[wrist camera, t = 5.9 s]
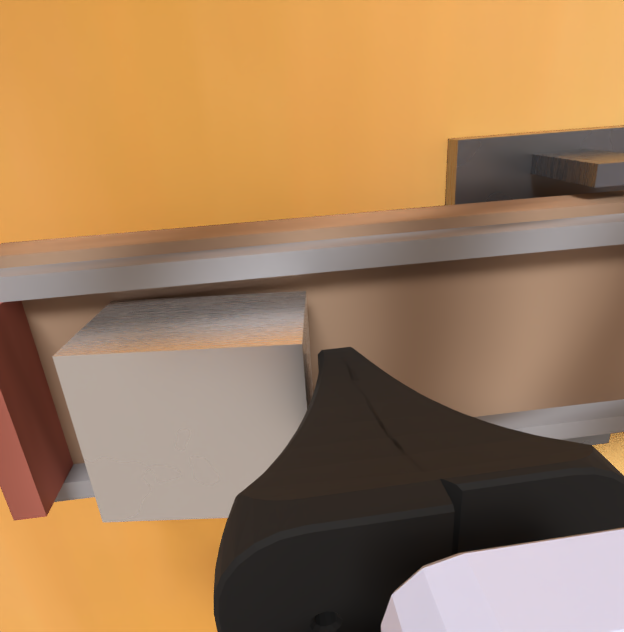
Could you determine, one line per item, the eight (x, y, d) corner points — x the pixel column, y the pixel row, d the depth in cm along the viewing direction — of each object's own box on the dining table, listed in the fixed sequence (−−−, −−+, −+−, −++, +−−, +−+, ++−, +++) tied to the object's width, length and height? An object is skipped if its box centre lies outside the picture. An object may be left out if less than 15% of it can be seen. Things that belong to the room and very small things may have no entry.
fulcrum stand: (647, 123, 17) (761, 127, 13) (596, 387, 21) (672, 447, 17) (448, 138, 16) (509, 146, 12) (436, 408, 20) (479, 475, 16)
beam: (800, 175, 15) (951, 193, 12) (735, 381, 18) (841, 440, 14) (2, 243, 13) (-81, 285, 10) (70, 458, 16) (24, 546, 13)
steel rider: (306, 290, 12) (301, 344, 10) (316, 434, 14) (315, 514, 11) (111, 301, 13) (52, 356, 10) (144, 441, 14) (102, 522, 12)
